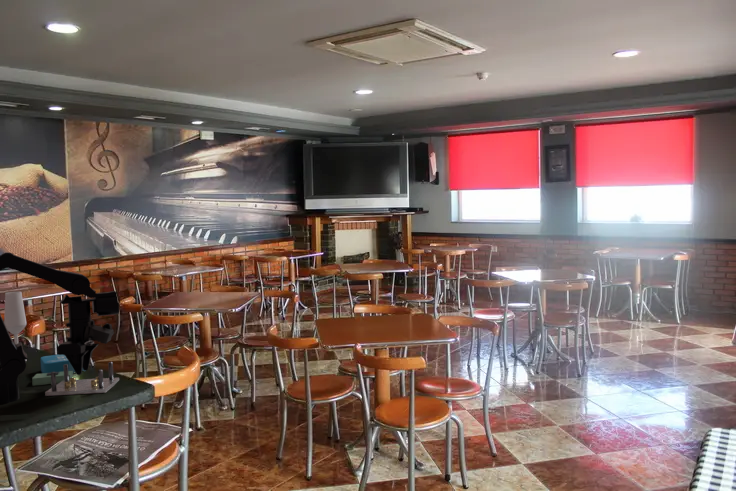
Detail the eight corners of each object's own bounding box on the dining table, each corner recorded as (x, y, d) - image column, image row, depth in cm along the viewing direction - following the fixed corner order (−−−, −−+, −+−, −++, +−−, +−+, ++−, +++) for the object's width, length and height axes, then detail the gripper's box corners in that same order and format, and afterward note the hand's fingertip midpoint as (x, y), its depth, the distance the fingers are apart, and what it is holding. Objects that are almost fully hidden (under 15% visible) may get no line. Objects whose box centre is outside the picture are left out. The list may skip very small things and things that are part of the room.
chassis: (105, 392, 169) (104, 371, 169) (45, 395, 167) (44, 374, 167) (119, 380, 181) (118, 360, 181) (63, 383, 179) (61, 363, 179)
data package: (80, 351, 202) (87, 357, 192) (81, 364, 203) (87, 371, 193) (39, 356, 196) (44, 363, 186) (40, 370, 196) (45, 378, 186)
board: (70, 383, 182) (69, 373, 181) (32, 386, 178) (32, 377, 178) (73, 378, 187) (72, 369, 187) (36, 382, 184) (36, 372, 184)
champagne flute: (33, 360, 211) (29, 291, 210) (16, 365, 205) (12, 293, 203) (18, 359, 213) (14, 291, 212) (1, 364, 207) (-3, 293, 205)
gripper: (97, 322, 165) (100, 379, 165) (119, 311, 183) (122, 363, 184) (54, 324, 164) (58, 381, 164) (81, 313, 182) (83, 364, 183)
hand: (82, 372), depth 174 cm, fingers open, 5 cm apart
